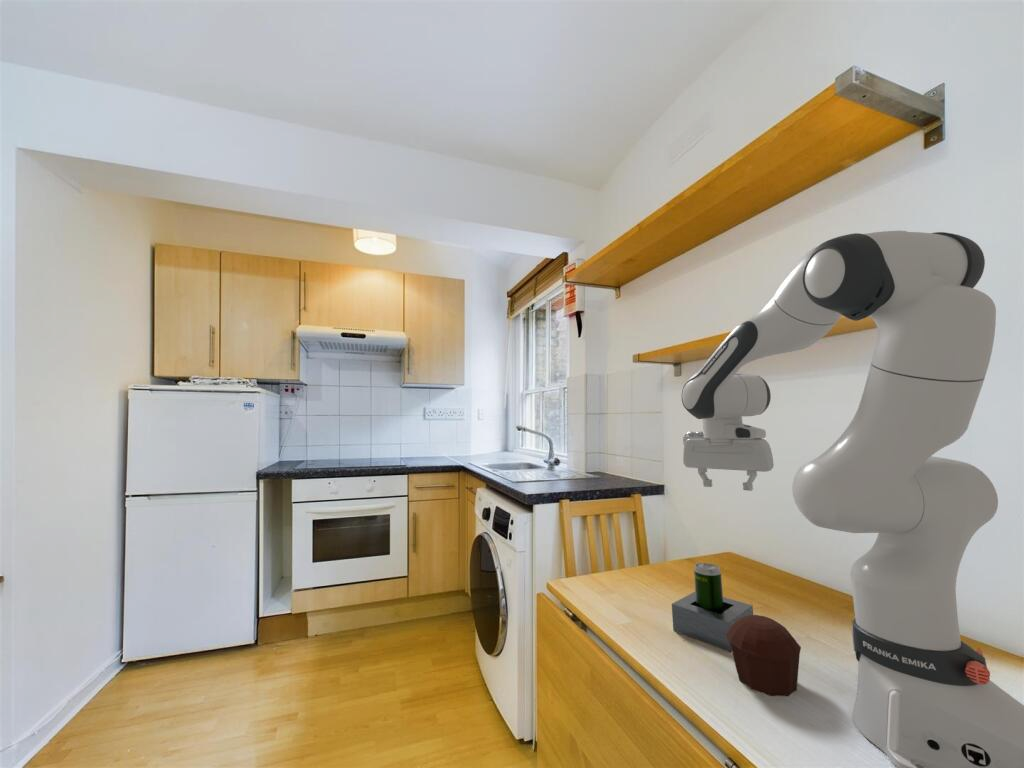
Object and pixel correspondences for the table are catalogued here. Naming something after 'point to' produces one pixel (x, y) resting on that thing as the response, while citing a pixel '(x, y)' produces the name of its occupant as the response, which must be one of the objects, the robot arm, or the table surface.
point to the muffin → (765, 655)
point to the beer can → (708, 587)
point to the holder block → (707, 620)
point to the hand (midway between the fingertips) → (727, 488)
